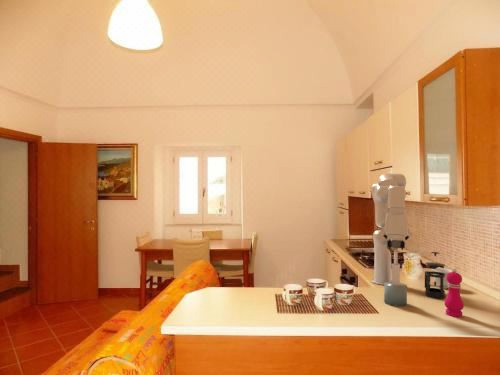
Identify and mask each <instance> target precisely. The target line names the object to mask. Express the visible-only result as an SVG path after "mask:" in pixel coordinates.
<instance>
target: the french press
mask: <svg viewBox="0 0 500 375" xmlns="http://www.w3.org/2000/svg"><path fill="white" fill-rule="evenodd" d="M431 254H434V255H433V257H434V261H432V262H431V261H430V262H425V265H426V268H427V269H430V270H431V269H435V272H433V271H429V270H428V271H427V270H426V271H424V288H425V292H424V296H425V297H427V298H431V299H436V300H437V299H438V300H445V299H446V290H444V289H443V287H444V284H443V278H444V277H445V274H444V273H440V272H436V268H443V269H445V266H446V264H445V263H441V262H436V261H437V259H436V258H437V255H438V254H441V253H440V252H438V251H431ZM433 274H435V275H433ZM436 274H437V275H436ZM434 277H435V282H434V281H431V278H434ZM436 278H440V283H436ZM439 287H440V288H439Z"/></svg>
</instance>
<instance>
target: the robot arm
mask: <svg viewBox="0 0 500 375" xmlns="http://www.w3.org/2000/svg"><path fill="white" fill-rule="evenodd" d="M377 181H378V182H377V183H374V184H372V186H371V187H370V188H371V189H370V191H371V193H370V194H371V197H372V200H373V202H374V208H375V210H374V211H375V212H374V213H375V214H374V215H375V216H374V217H375V225H376V227H378V228H382V229H378V230H375V231H374V232H373V233H372V239H373V240H372V241H373V246H374V247H373V248H374V251H373V252H374V260H373V261H374V267H373V272H374V273H373V277H374V278H371V280H370V281H371V283H372V284H376V285H381V286H384V283H385V282H392V252H391V251H390V250H391V247H390V243H391V241H390V240H395V239H396V240H402V248H400V249H401V250H402V251H403V250H404V249H405V248H406V247H405V246H406V245H405V244H406V241H407V240H408V239H409V238H411V237H412V236H414V234H413V233H412V231H411V230H410V229H409V226H408V216H407V214H406V196H407V191H406V185H407V180H406V177H405V175H404V174H402V173H384V174H382V175H380V176H379V177H378V180H377Z"/></svg>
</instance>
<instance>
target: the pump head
mask: <svg viewBox="0 0 500 375" xmlns="http://www.w3.org/2000/svg"><path fill="white" fill-rule="evenodd" d="M390 241H391V243H390V249H391V248H393V264H394V265H398V264H399V262H398V261H399V258H398V257H399V254H398V253H399V249H401V248H402V240H396V239H395V240H390Z"/></svg>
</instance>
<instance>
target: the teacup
mask: <svg viewBox="0 0 500 375" xmlns="http://www.w3.org/2000/svg"><path fill="white" fill-rule="evenodd" d="M430 270H432V271H431V272H435V269H430ZM436 272H440V273H444V274H445V277H444V278H443V284H444V287H443V290H444V289H445V290H447V288H448V289H449V287H448V283H449V282H448V281H447V279H446V276H447V274H448V273H450V272H452V269H449V268H444V269H443V268H440V267H438V268H436ZM433 275H435V274H433ZM436 275H437V274H436ZM433 282H435V277H433ZM436 283H440V278H436ZM438 289H440V287H438Z"/></svg>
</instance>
